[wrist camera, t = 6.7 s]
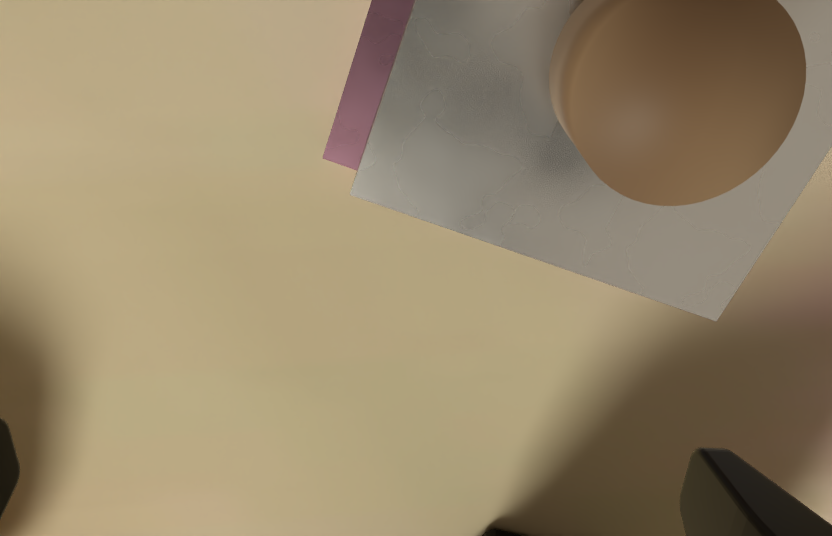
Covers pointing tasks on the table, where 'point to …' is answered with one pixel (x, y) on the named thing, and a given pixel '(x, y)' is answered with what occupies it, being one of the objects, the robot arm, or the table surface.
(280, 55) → the table surface
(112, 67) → the table surface
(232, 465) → the table surface
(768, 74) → the plunger
